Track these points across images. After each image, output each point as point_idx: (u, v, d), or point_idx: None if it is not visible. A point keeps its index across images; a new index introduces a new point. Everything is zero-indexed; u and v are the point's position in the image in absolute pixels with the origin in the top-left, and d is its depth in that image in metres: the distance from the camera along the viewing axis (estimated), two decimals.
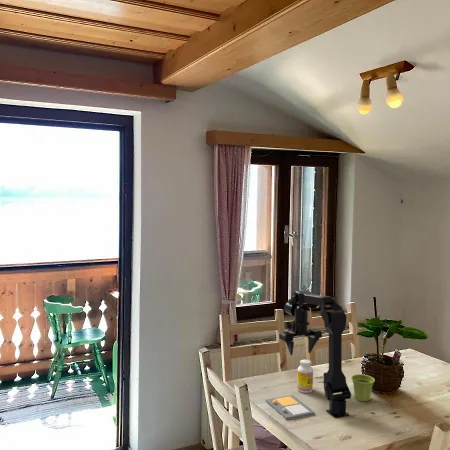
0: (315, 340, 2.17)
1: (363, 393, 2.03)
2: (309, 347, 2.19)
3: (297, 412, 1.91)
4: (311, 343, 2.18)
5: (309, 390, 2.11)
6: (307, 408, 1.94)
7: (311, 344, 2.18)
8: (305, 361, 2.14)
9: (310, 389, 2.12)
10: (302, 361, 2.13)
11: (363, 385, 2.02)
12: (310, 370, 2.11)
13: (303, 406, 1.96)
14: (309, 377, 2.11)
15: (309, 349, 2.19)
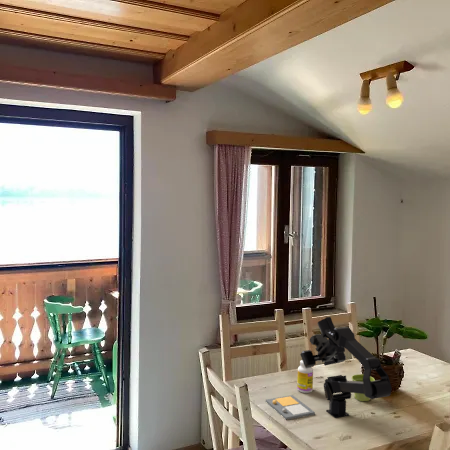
0: (335, 363, 2.03)
1: None
2: (326, 361, 2.06)
3: (297, 412, 1.91)
4: (330, 361, 2.05)
5: (309, 390, 2.11)
6: (307, 408, 1.94)
7: (330, 362, 2.05)
8: None
9: (310, 389, 2.12)
10: (302, 361, 2.13)
11: None
12: (310, 370, 2.11)
13: (303, 406, 1.96)
14: (309, 377, 2.11)
15: (326, 363, 2.07)
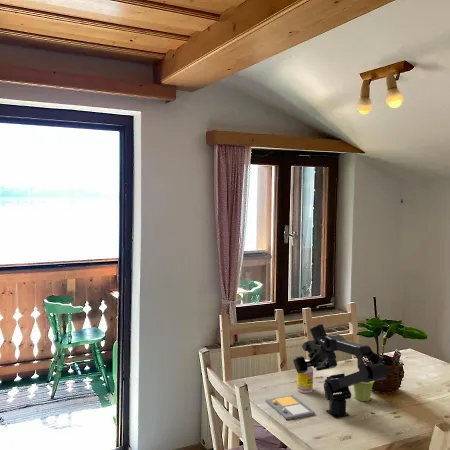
0: None
1: (363, 393, 2.03)
2: (318, 367, 2.12)
3: (297, 412, 1.91)
4: (322, 367, 2.10)
5: (309, 390, 2.11)
6: (307, 408, 1.94)
7: (322, 368, 2.10)
8: None
9: (310, 389, 2.12)
10: None
11: (363, 385, 2.02)
12: (310, 370, 2.11)
13: (303, 406, 1.96)
14: (309, 377, 2.11)
15: (318, 368, 2.13)
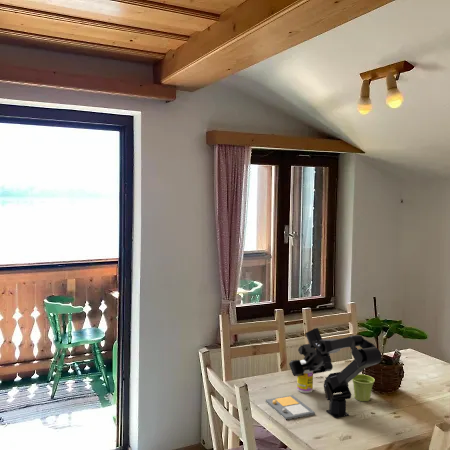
0: (321, 372, 2.11)
1: (363, 393, 2.03)
2: (312, 370, 2.15)
3: (297, 412, 1.91)
4: (316, 370, 2.13)
5: (309, 390, 2.11)
6: (307, 408, 1.94)
7: (315, 371, 2.13)
8: (305, 361, 2.14)
9: (310, 389, 2.12)
10: (302, 361, 2.13)
11: (363, 385, 2.02)
12: None
13: (303, 406, 1.96)
14: (309, 377, 2.11)
15: None
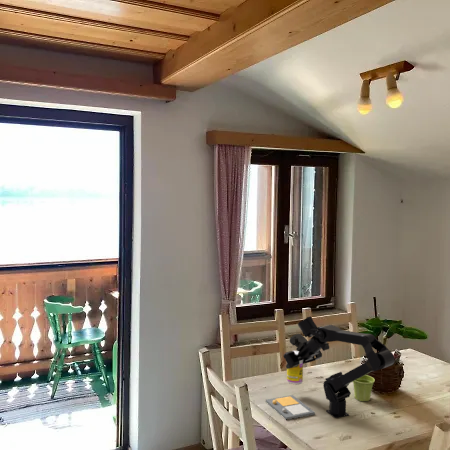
0: (311, 361, 2.07)
1: (363, 393, 2.03)
2: None
3: (297, 412, 1.91)
4: (305, 360, 2.09)
5: (301, 381, 2.07)
6: (307, 408, 1.94)
7: (305, 361, 2.09)
8: (294, 352, 2.08)
9: (301, 380, 2.07)
10: None
11: (363, 385, 2.02)
12: (301, 361, 2.07)
13: (303, 406, 1.96)
14: (300, 368, 2.06)
15: None
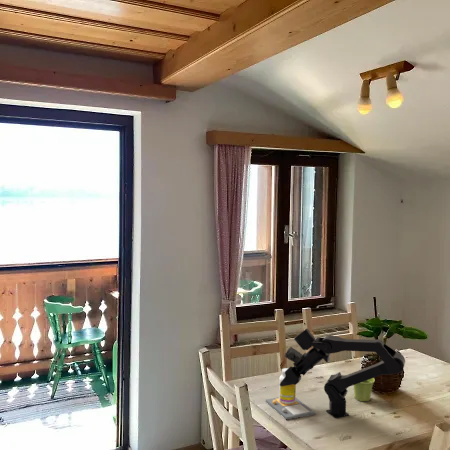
0: None
1: (363, 393, 2.03)
2: None
3: (297, 412, 1.91)
4: None
5: None
6: (307, 408, 1.94)
7: None
8: None
9: None
10: None
11: (363, 385, 2.02)
12: None
13: (303, 406, 1.96)
14: (295, 385, 1.99)
15: None
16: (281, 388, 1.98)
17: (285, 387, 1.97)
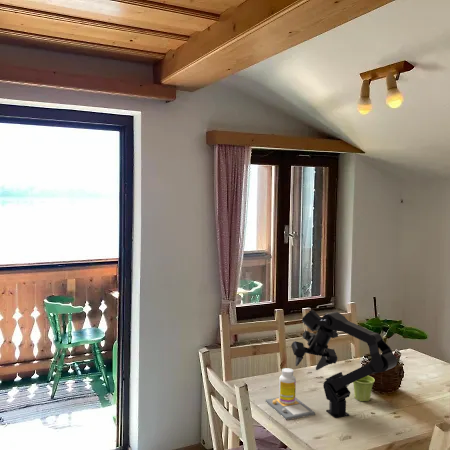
0: (327, 363, 1.99)
1: (363, 393, 2.03)
2: (318, 365, 2.03)
3: (297, 412, 1.91)
4: (322, 363, 2.01)
5: None
6: (307, 408, 1.94)
7: (321, 364, 2.01)
8: (287, 370, 2.00)
9: None
10: (285, 371, 1.99)
11: (363, 385, 2.02)
12: (295, 378, 1.99)
13: (303, 406, 1.96)
14: (295, 385, 1.99)
15: (317, 366, 2.03)
16: (281, 388, 1.98)
17: (285, 387, 1.97)
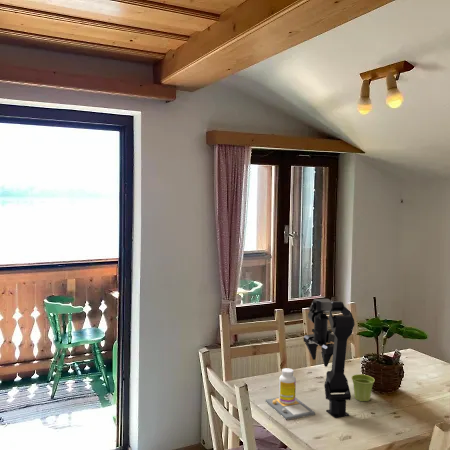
0: (322, 353, 2.07)
1: (363, 393, 2.03)
2: None
3: (297, 412, 1.91)
4: None
5: None
6: (307, 408, 1.94)
7: None
8: (287, 370, 2.00)
9: None
10: (285, 371, 1.99)
11: (363, 385, 2.02)
12: (295, 378, 1.99)
13: (303, 406, 1.96)
14: (295, 385, 1.99)
15: None
16: (281, 388, 1.98)
17: (285, 387, 1.97)
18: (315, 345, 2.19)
